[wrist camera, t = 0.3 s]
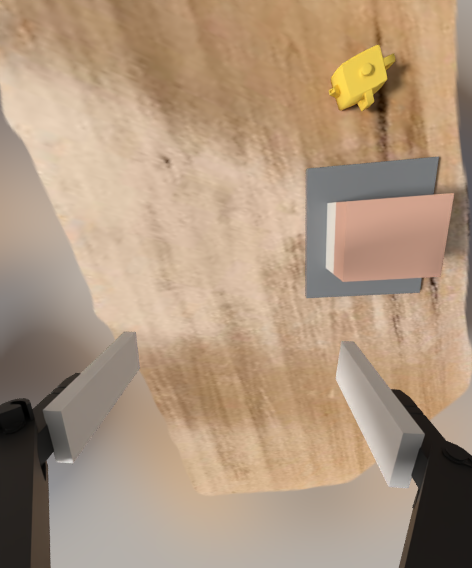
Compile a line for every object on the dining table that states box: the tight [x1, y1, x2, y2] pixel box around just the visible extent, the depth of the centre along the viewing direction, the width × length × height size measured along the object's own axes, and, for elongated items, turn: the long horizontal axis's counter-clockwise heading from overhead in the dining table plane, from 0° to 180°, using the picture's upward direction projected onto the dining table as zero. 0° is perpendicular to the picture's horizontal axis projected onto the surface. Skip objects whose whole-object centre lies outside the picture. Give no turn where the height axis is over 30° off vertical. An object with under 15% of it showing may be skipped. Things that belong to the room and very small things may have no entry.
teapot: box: [329, 45, 396, 111], centre depth 32 cm, size 8×6×5 cm
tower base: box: [305, 157, 454, 298], centre depth 35 cm, size 20×18×9 cm
